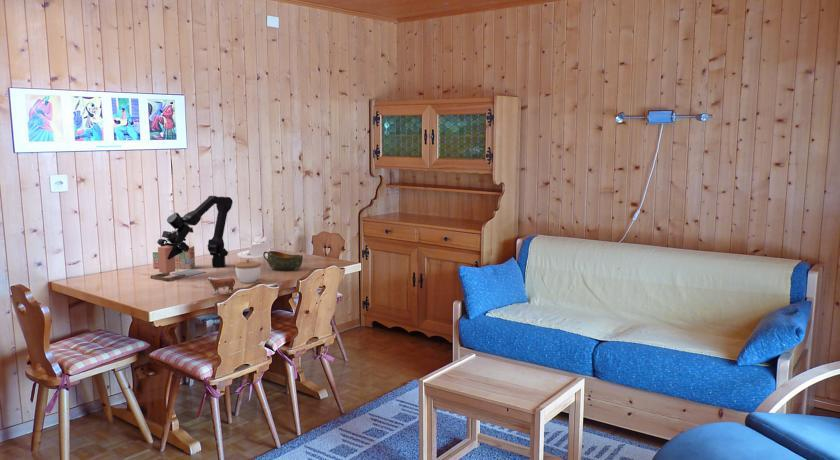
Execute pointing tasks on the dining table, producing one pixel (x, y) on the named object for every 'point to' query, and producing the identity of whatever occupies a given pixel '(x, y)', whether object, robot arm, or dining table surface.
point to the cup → (283, 261)
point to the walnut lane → (159, 277)
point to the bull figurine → (221, 284)
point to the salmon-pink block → (165, 260)
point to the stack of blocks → (179, 259)
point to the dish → (257, 249)
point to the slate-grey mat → (189, 272)
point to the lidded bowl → (248, 271)
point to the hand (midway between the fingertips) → (164, 258)
